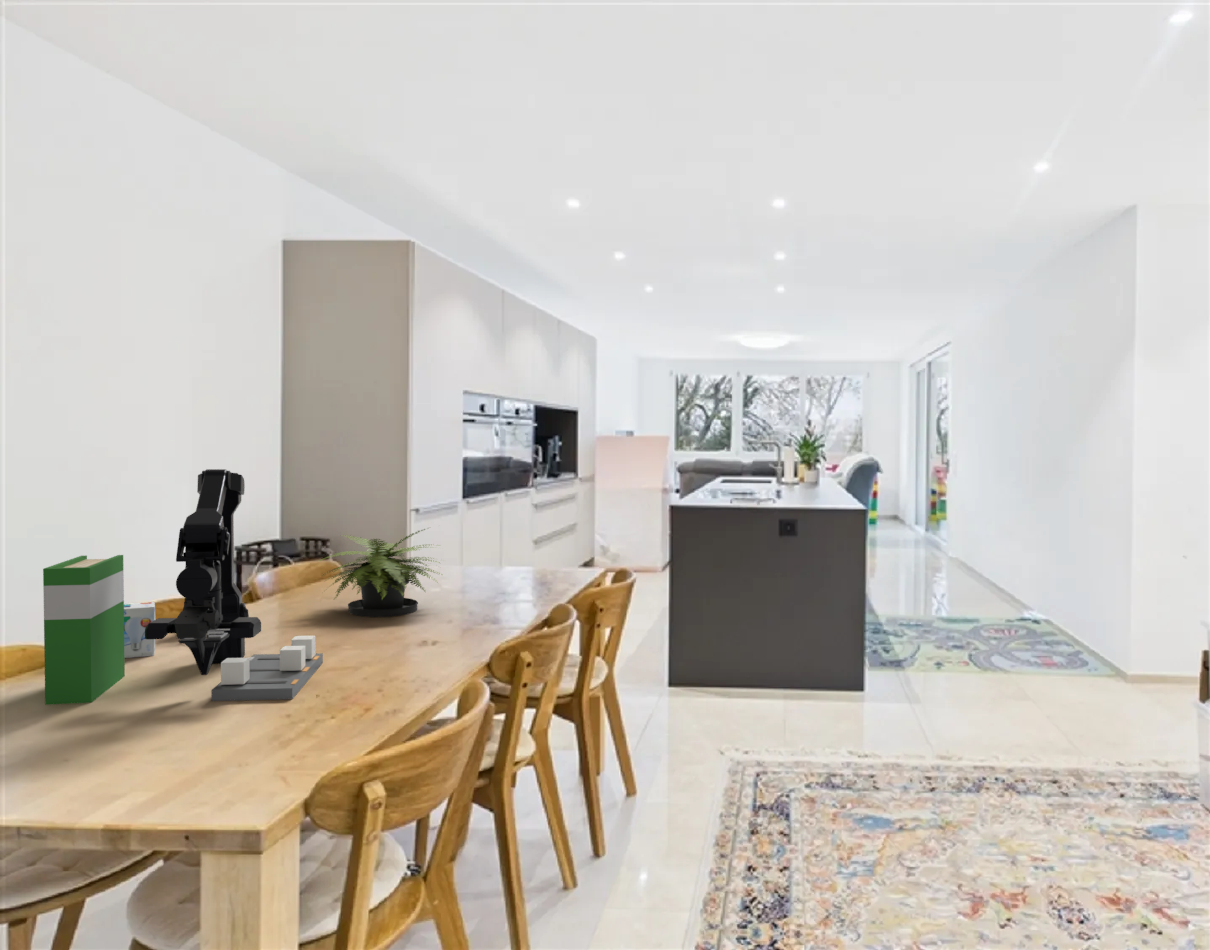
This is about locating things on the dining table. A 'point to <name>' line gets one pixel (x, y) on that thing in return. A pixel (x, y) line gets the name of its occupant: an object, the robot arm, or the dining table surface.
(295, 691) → the breaker panel
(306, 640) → the handle far
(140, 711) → the dining table surface
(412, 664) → the dining table surface
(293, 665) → the handle mid
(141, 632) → the light bulb box
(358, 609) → the fern plant
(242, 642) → the robot arm
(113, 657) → the hardback book
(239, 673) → the handle
